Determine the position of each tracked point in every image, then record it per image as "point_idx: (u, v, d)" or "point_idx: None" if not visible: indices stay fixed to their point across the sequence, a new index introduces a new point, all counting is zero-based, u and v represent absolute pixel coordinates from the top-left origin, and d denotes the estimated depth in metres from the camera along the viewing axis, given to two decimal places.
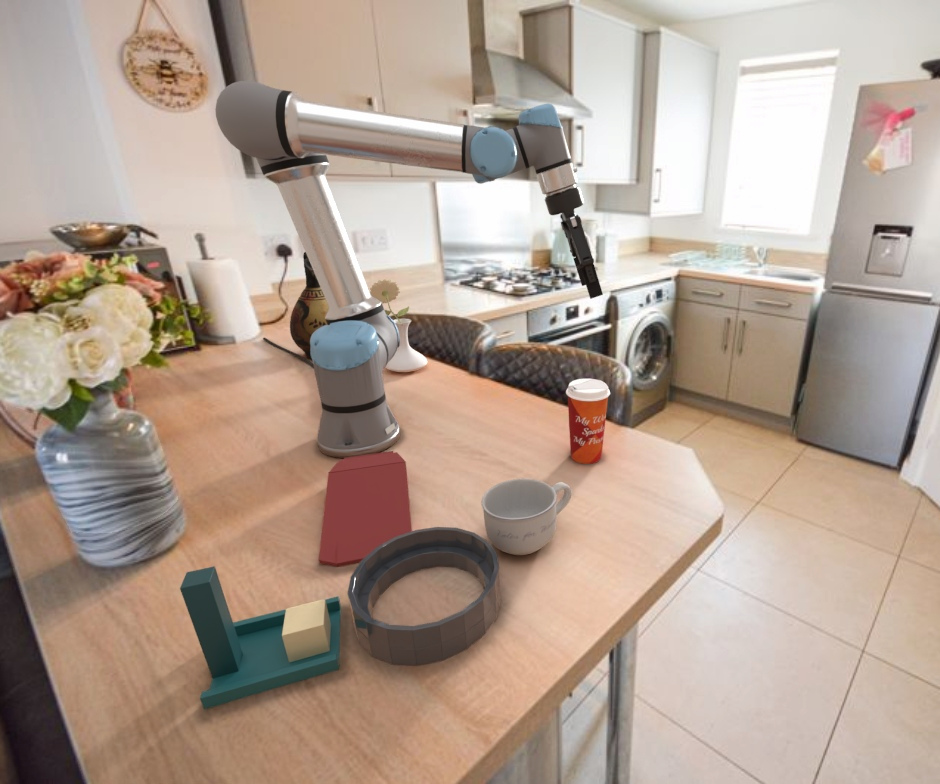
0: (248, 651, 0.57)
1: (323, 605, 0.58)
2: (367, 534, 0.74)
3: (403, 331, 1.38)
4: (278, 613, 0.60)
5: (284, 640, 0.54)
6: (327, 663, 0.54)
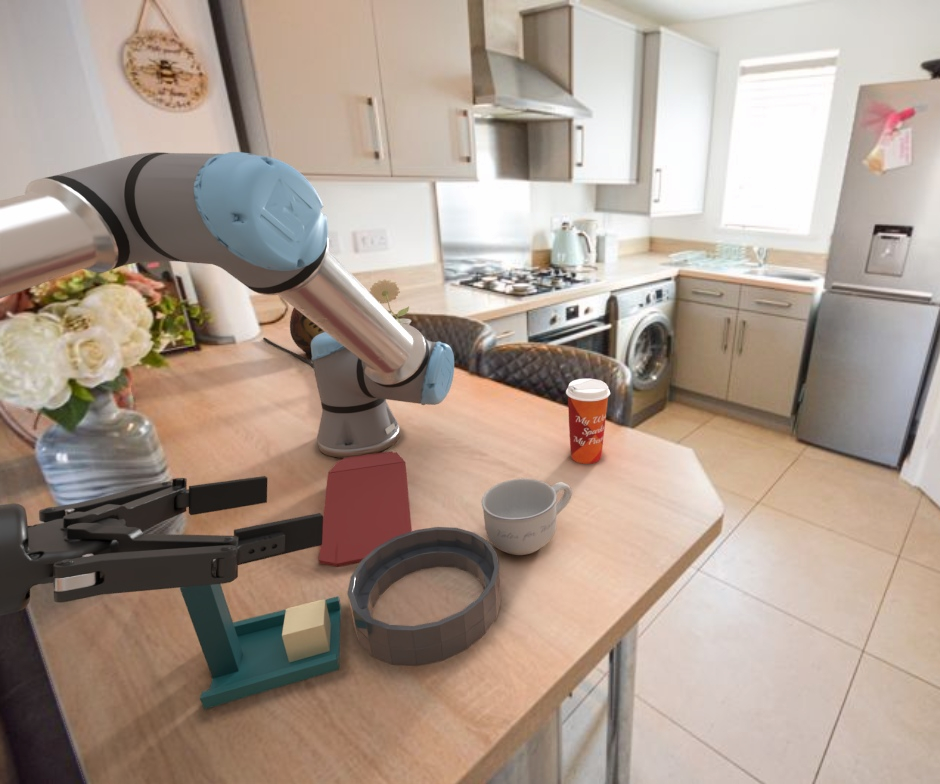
0: (248, 651, 0.57)
1: (323, 605, 0.58)
2: (367, 534, 0.74)
3: None
4: (278, 613, 0.60)
5: (284, 640, 0.54)
6: (327, 663, 0.54)
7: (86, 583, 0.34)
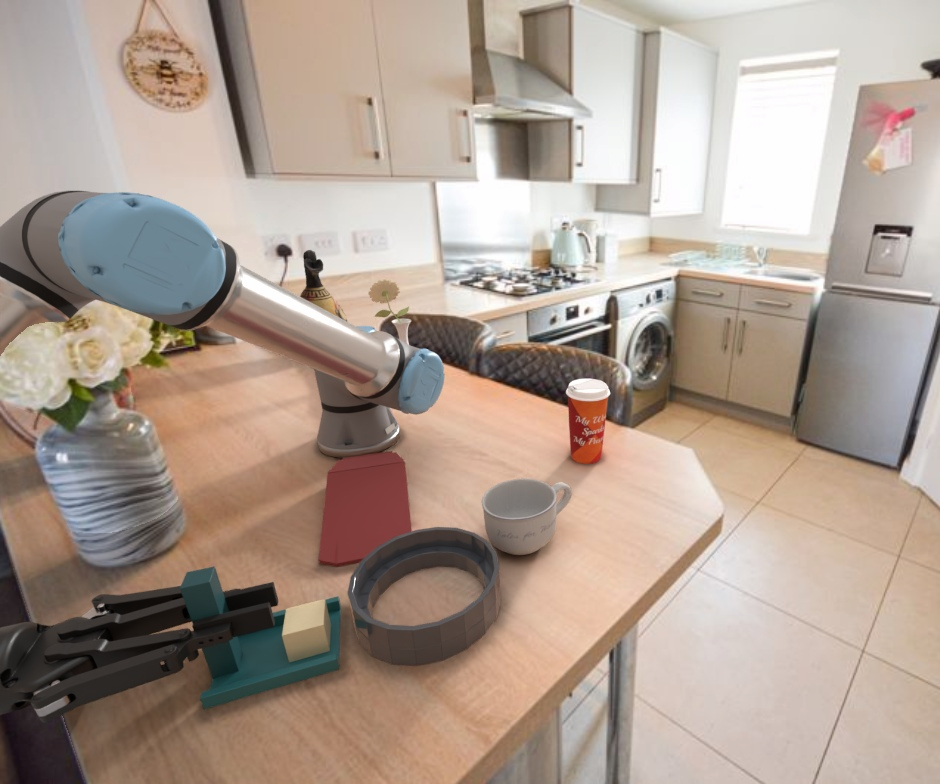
0: (248, 651, 0.57)
1: (323, 605, 0.58)
2: (367, 534, 0.74)
3: (403, 331, 1.38)
4: (278, 613, 0.60)
5: (284, 640, 0.54)
6: (327, 663, 0.54)
7: (62, 704, 0.44)
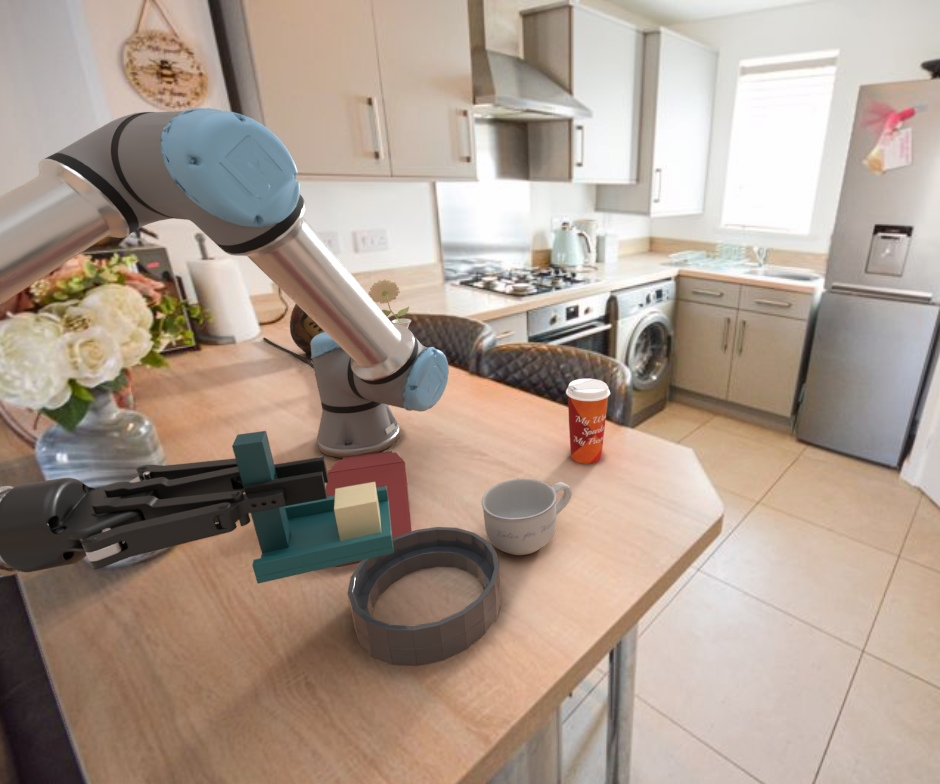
0: (296, 532, 0.54)
1: (374, 486, 0.55)
2: None
3: None
4: (325, 499, 0.57)
5: (336, 515, 0.52)
6: (381, 539, 0.52)
7: (114, 551, 0.41)
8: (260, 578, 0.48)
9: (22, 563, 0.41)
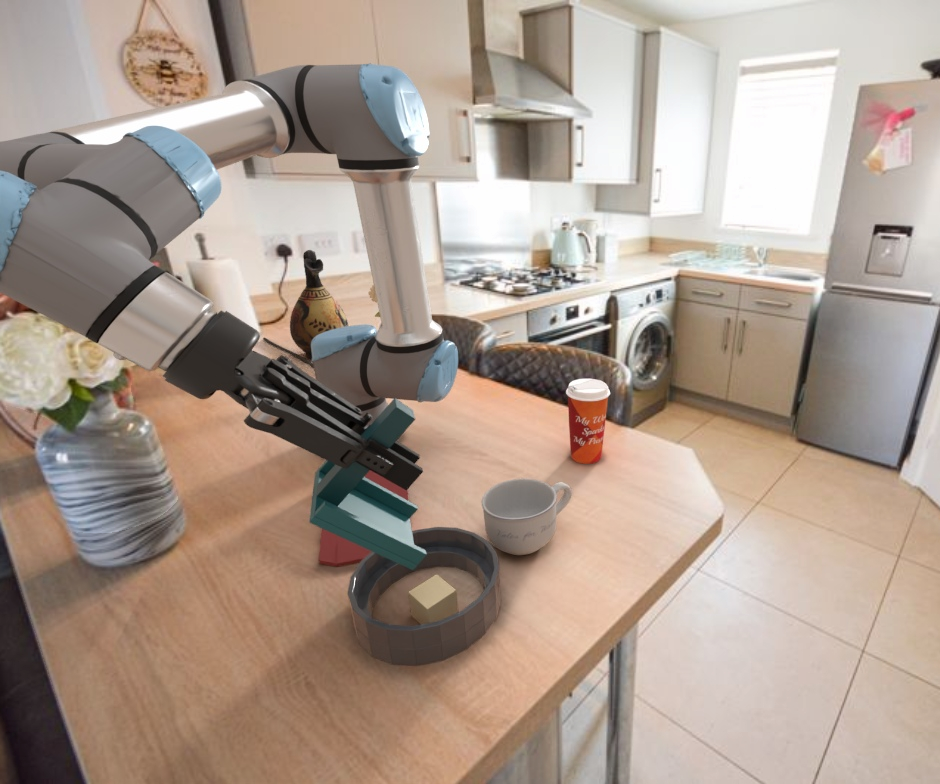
0: None
1: (412, 597, 0.60)
2: None
3: None
4: (372, 483, 0.59)
5: None
6: (418, 553, 0.55)
7: (271, 422, 0.43)
8: (316, 519, 0.49)
9: (183, 373, 0.41)
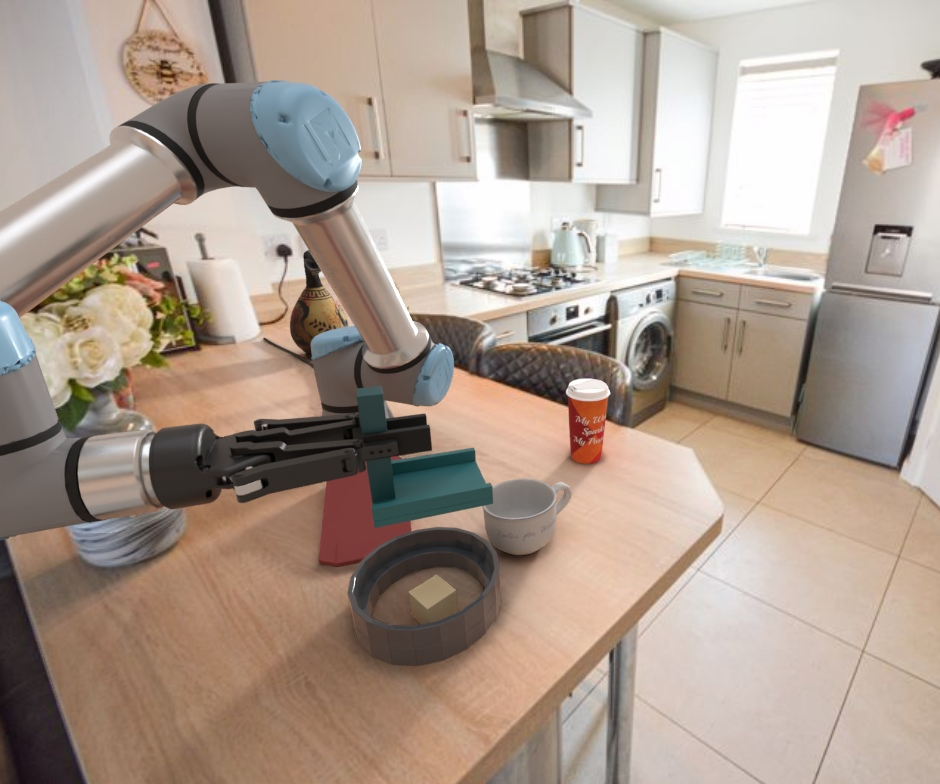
0: (398, 486, 0.58)
1: (412, 597, 0.60)
2: (367, 534, 0.74)
3: None
4: (420, 457, 0.61)
5: None
6: (484, 489, 0.55)
7: (257, 487, 0.45)
8: (377, 522, 0.52)
9: (170, 498, 0.44)
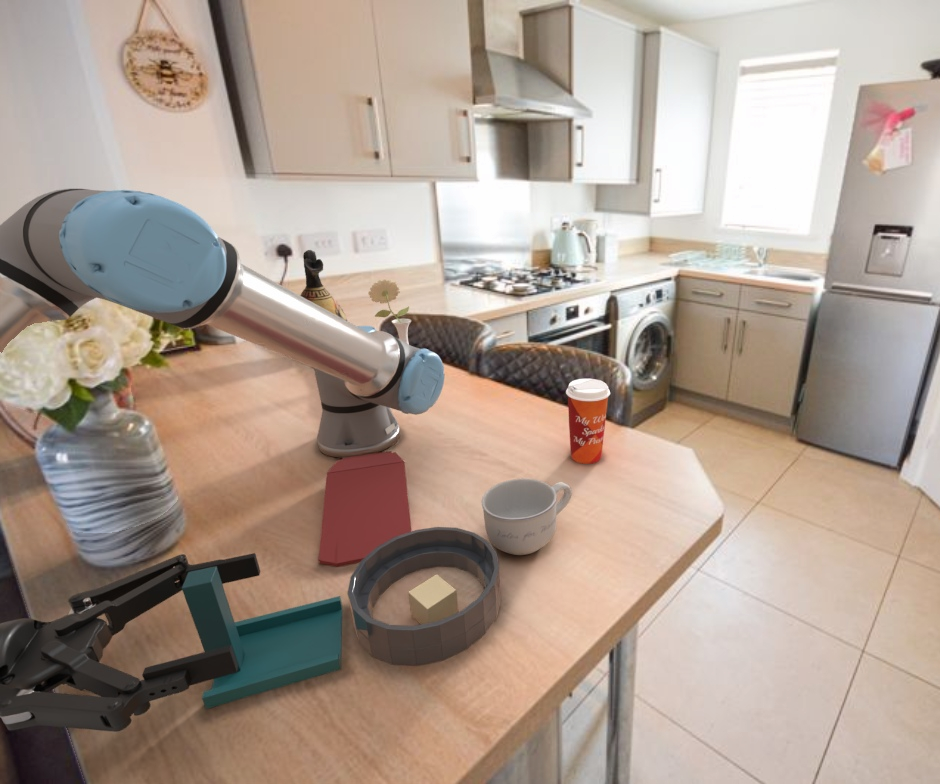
0: (250, 651, 0.57)
1: (412, 597, 0.60)
2: (367, 534, 0.74)
3: (403, 331, 1.38)
4: (279, 613, 0.60)
5: None
6: (329, 663, 0.54)
7: (22, 719, 0.42)
8: None
9: None
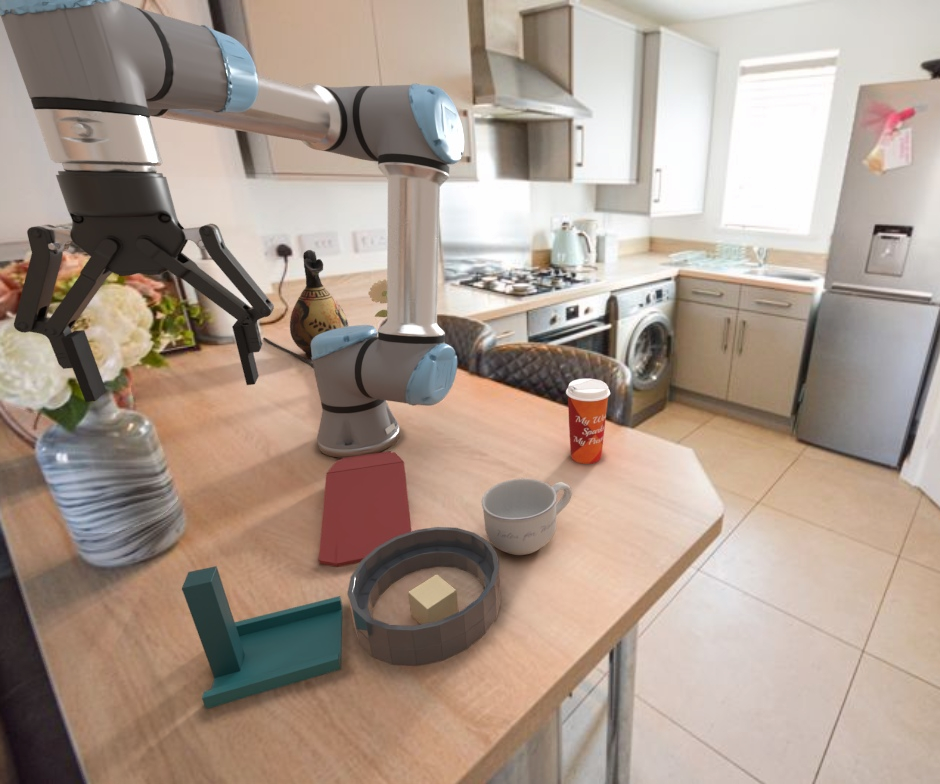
0: (250, 651, 0.57)
1: (412, 597, 0.60)
2: (367, 534, 0.74)
3: None
4: (279, 613, 0.60)
5: None
6: (329, 663, 0.54)
7: (219, 240, 0.51)
8: None
9: (159, 185, 0.46)
